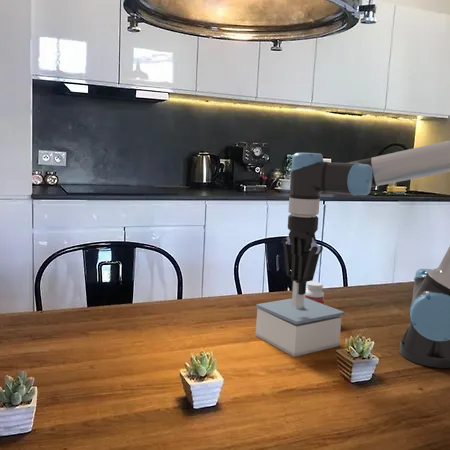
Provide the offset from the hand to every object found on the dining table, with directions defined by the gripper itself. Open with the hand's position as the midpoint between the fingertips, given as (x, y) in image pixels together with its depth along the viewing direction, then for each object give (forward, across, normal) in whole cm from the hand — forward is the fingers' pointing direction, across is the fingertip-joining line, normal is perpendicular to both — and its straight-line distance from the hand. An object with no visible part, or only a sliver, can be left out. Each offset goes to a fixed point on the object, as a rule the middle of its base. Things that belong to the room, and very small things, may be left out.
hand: (297, 305), depth 137 cm
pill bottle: (+12, +16, -22) cm, 30 cm away
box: (+12, +4, -5) cm, 14 cm away
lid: (+3, +4, -5) cm, 7 cm away
